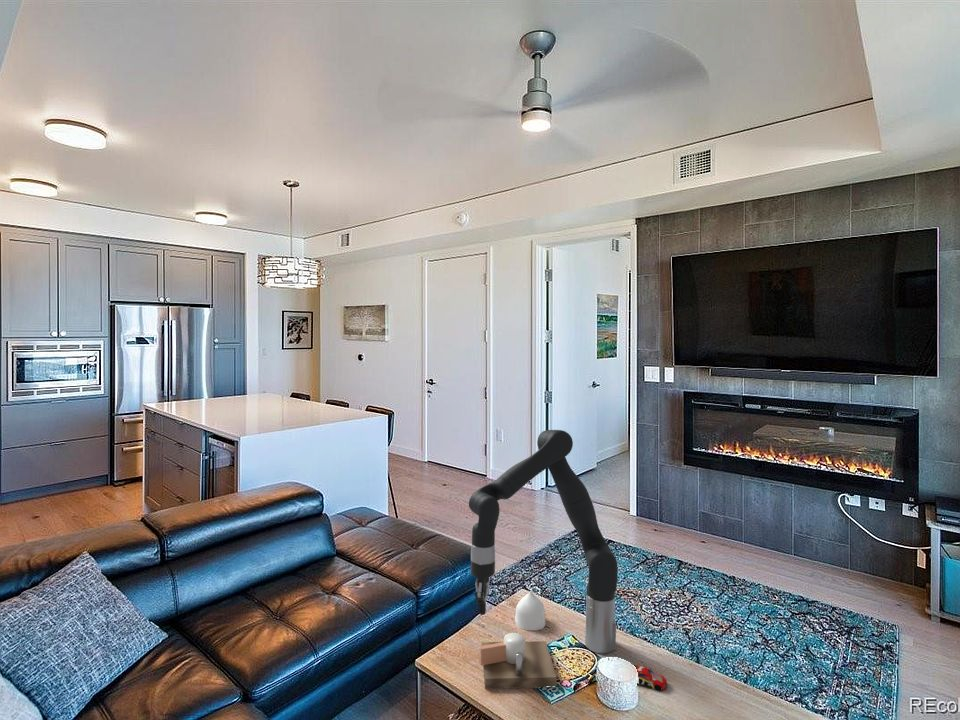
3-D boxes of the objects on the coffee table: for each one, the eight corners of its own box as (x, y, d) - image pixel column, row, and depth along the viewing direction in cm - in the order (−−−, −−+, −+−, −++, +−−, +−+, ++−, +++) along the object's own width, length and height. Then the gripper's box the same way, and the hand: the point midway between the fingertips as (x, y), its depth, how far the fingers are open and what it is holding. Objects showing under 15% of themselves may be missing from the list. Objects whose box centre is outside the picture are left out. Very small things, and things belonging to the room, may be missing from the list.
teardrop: (547, 616, 189) (547, 584, 188) (543, 632, 178) (544, 599, 178) (517, 612, 191) (518, 580, 191) (512, 628, 181) (513, 595, 180)
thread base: (545, 650, 168) (546, 623, 167) (556, 687, 150) (557, 657, 150) (481, 651, 167) (482, 624, 166) (485, 688, 149) (485, 658, 148)
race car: (668, 683, 153) (668, 670, 152) (666, 694, 148) (666, 681, 148) (623, 670, 158) (623, 658, 158) (619, 681, 153) (620, 667, 153)
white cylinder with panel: (519, 649, 162) (520, 631, 162) (527, 662, 156) (527, 642, 156) (477, 657, 158) (477, 638, 158) (483, 670, 152) (483, 650, 152)
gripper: (474, 548, 164) (473, 601, 165) (466, 566, 151) (465, 623, 152) (498, 550, 163) (497, 603, 164) (491, 568, 150) (490, 626, 151)
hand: (481, 613), depth 158 cm, fingers closed
